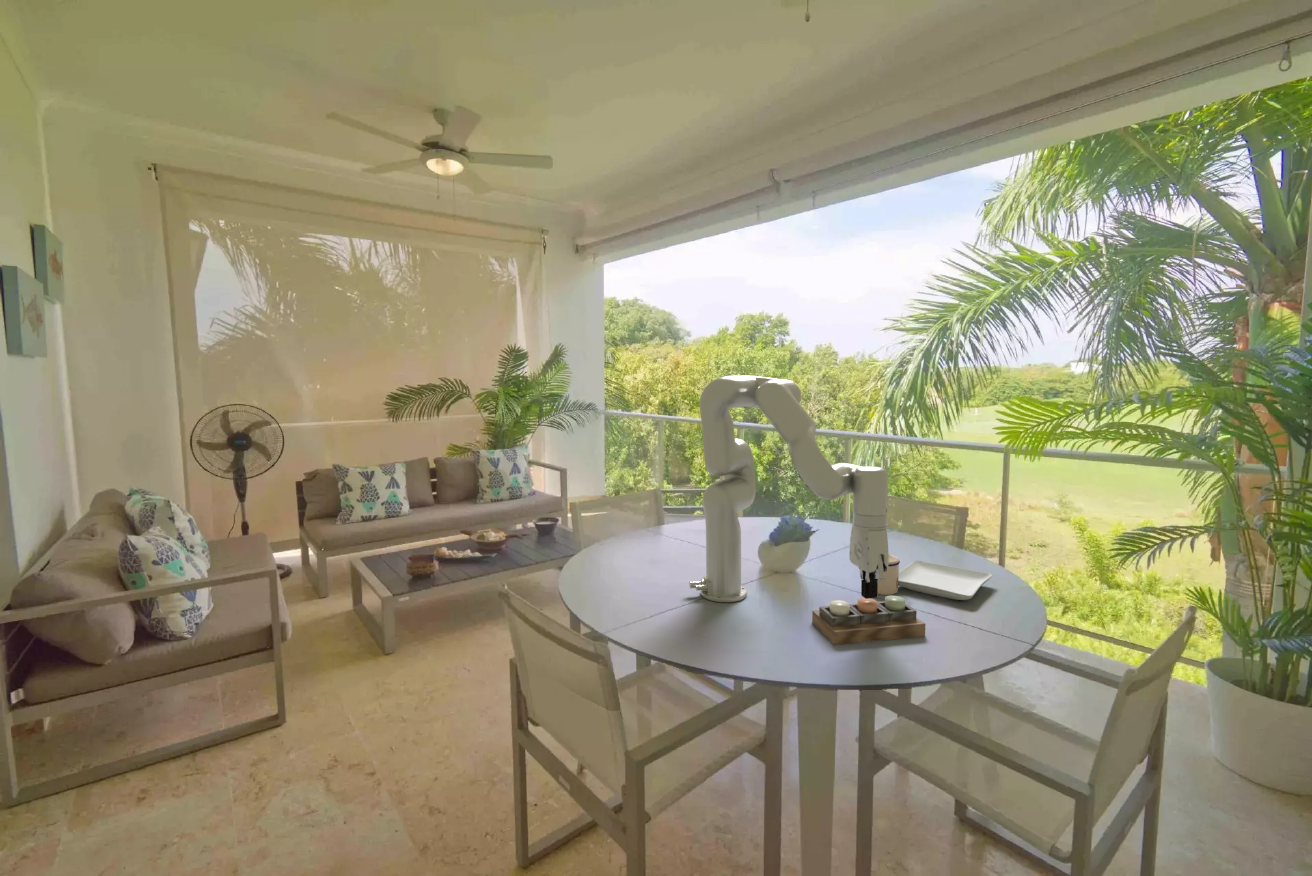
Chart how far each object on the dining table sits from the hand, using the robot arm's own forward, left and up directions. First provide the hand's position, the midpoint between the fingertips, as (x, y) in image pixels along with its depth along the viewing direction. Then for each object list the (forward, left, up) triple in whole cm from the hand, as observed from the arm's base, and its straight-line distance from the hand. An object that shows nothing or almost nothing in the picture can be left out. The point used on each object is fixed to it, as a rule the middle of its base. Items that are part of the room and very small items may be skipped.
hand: (869, 596), depth 137 cm
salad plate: (+34, +21, -8) cm, 41 cm away
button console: (0, 0, -8) cm, 8 cm away
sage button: (+7, 0, -4) cm, 8 cm away
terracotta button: (0, 0, -4) cm, 4 cm away
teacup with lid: (+17, +24, -8) cm, 31 cm away
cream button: (-7, 0, -4) cm, 8 cm away
